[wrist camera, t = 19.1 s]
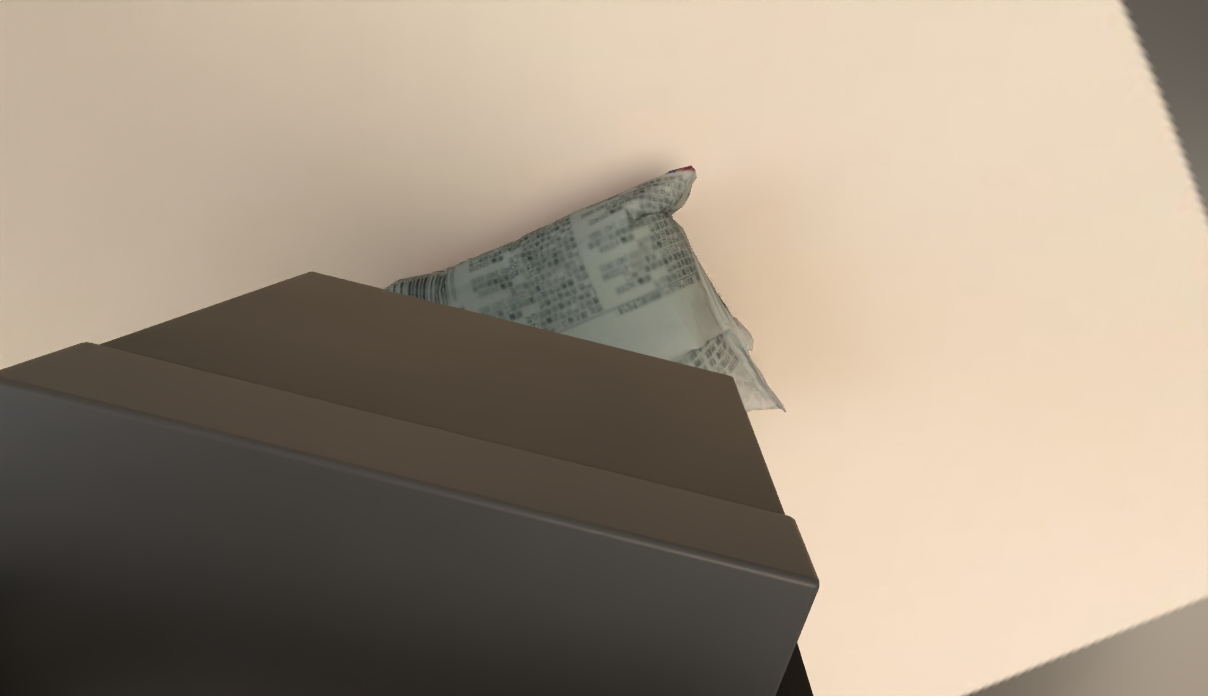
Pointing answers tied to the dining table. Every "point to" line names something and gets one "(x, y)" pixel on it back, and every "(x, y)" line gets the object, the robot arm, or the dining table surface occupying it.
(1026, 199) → the dining table surface
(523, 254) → the packaged food
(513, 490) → the charcoal box
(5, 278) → the dining table surface
